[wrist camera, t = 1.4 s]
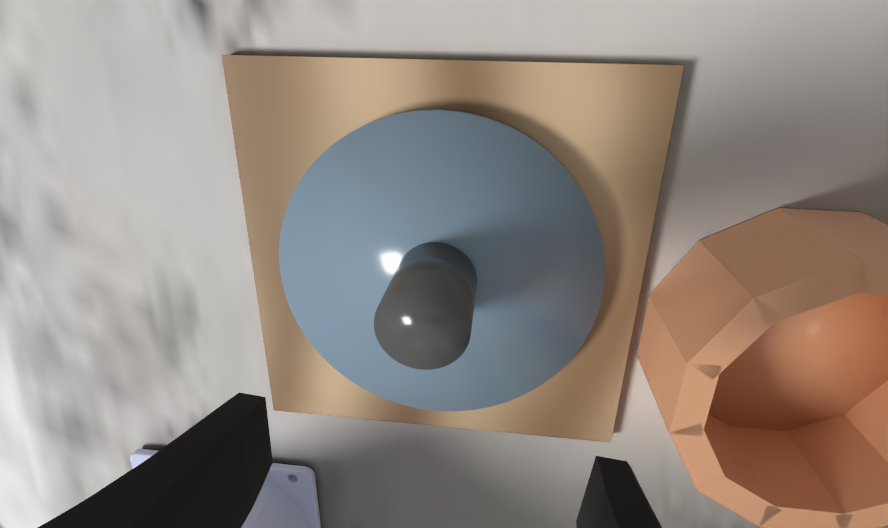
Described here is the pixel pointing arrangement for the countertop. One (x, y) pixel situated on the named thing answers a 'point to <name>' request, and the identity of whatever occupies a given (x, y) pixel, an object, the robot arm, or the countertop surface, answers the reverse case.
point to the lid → (442, 260)
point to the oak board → (487, 93)
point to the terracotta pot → (779, 367)
